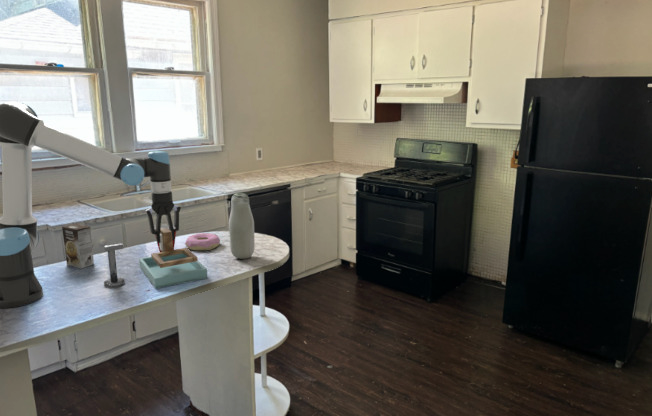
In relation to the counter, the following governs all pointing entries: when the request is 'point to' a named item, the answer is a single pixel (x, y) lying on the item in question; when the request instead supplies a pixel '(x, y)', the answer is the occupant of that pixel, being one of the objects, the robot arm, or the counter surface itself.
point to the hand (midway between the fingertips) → (166, 249)
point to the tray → (172, 271)
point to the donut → (202, 241)
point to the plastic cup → (164, 228)
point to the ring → (171, 252)
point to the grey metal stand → (113, 267)
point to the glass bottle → (241, 227)
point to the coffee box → (78, 245)
